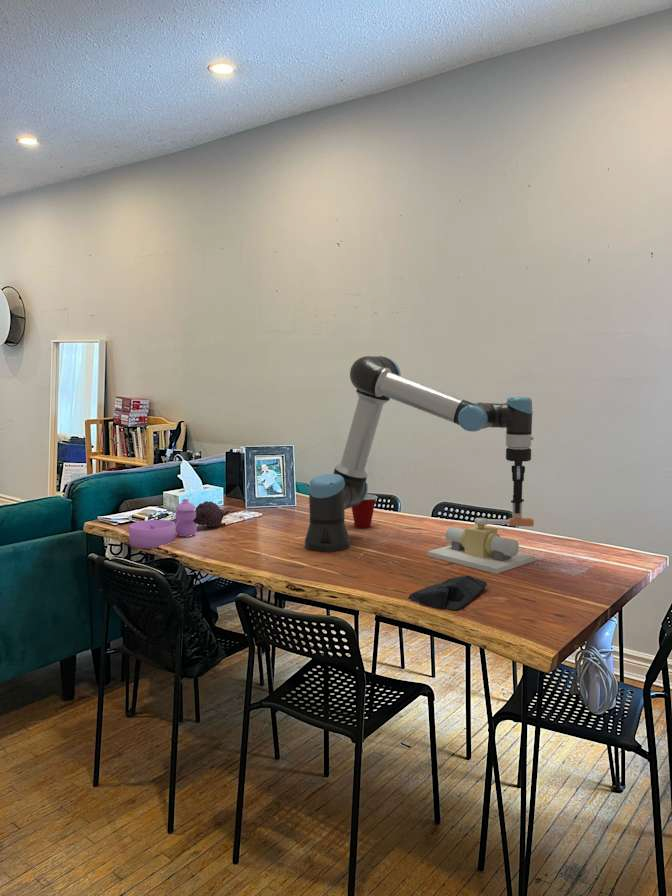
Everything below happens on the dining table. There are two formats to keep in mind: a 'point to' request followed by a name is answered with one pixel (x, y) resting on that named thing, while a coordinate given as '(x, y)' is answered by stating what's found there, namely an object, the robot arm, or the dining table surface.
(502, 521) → the valve lever
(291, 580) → the dining table surface
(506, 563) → the pipe board
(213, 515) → the pine cone
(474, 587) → the black crumpled cloth
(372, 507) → the plastic cup
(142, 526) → the container set
